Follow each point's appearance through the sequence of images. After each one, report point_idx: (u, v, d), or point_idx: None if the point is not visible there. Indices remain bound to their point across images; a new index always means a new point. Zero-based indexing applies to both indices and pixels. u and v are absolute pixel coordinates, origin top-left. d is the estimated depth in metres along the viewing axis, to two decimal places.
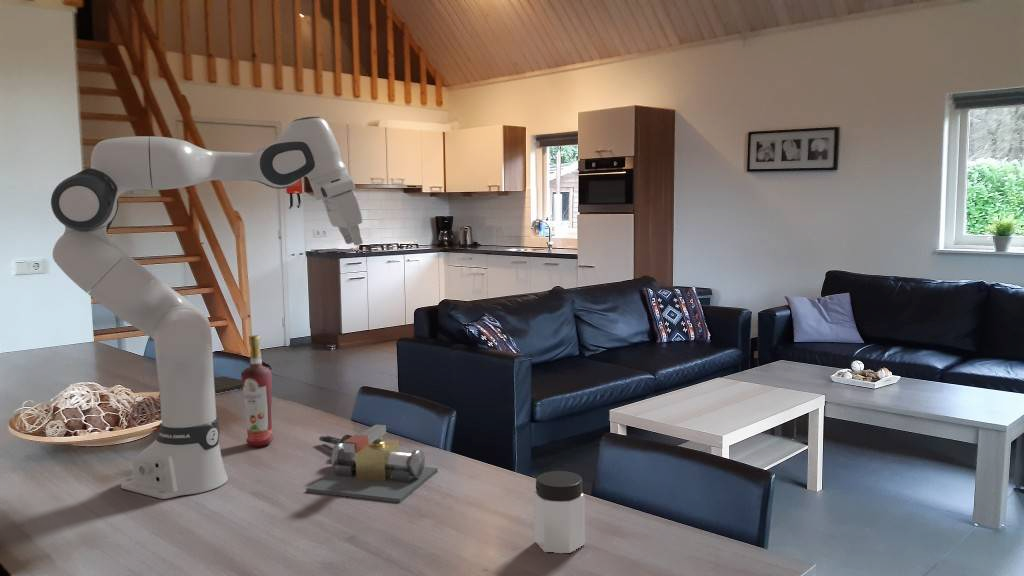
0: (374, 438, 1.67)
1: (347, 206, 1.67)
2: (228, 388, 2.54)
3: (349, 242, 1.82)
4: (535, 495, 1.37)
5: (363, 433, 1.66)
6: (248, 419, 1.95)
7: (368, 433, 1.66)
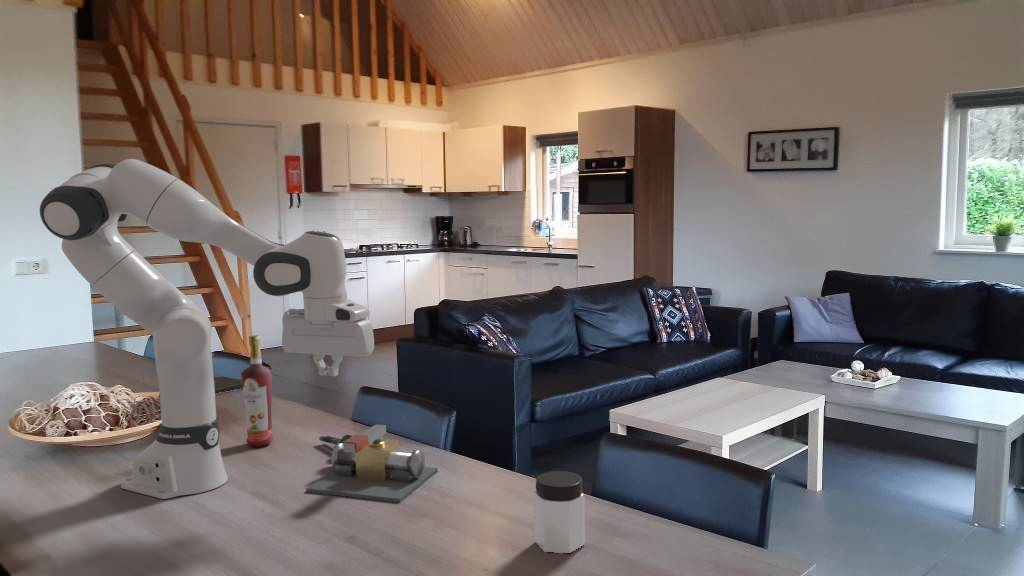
0: (374, 438, 1.67)
1: (368, 334, 1.58)
2: (228, 388, 2.54)
3: (326, 373, 1.62)
4: (535, 495, 1.37)
5: (363, 433, 1.66)
6: (248, 419, 1.95)
7: (368, 433, 1.66)
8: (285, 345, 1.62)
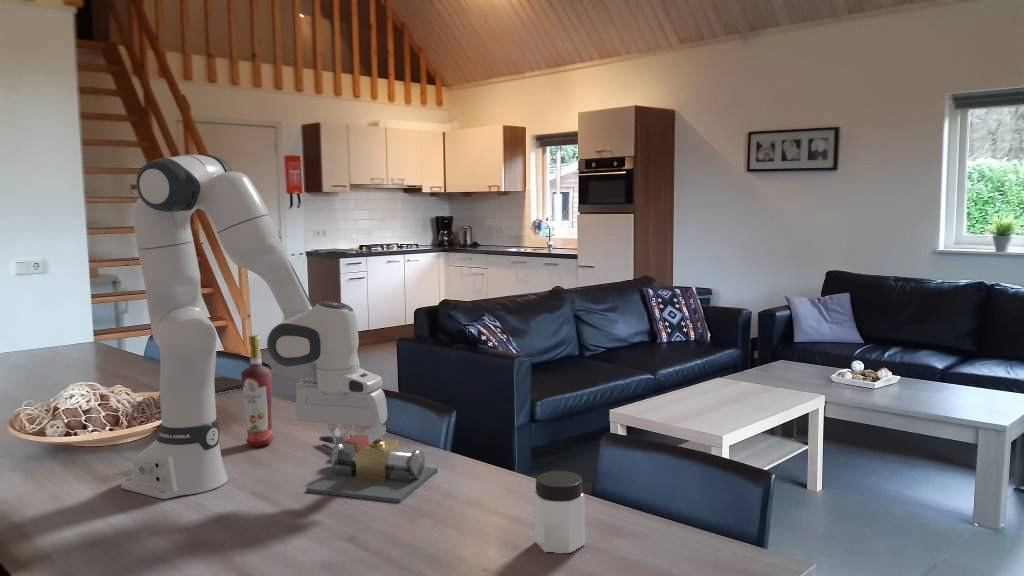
0: (374, 438, 1.67)
1: (381, 404, 1.58)
2: (228, 388, 2.54)
3: None
4: (535, 495, 1.37)
5: (363, 433, 1.66)
6: (248, 419, 1.95)
7: (368, 433, 1.66)
8: (298, 414, 1.63)
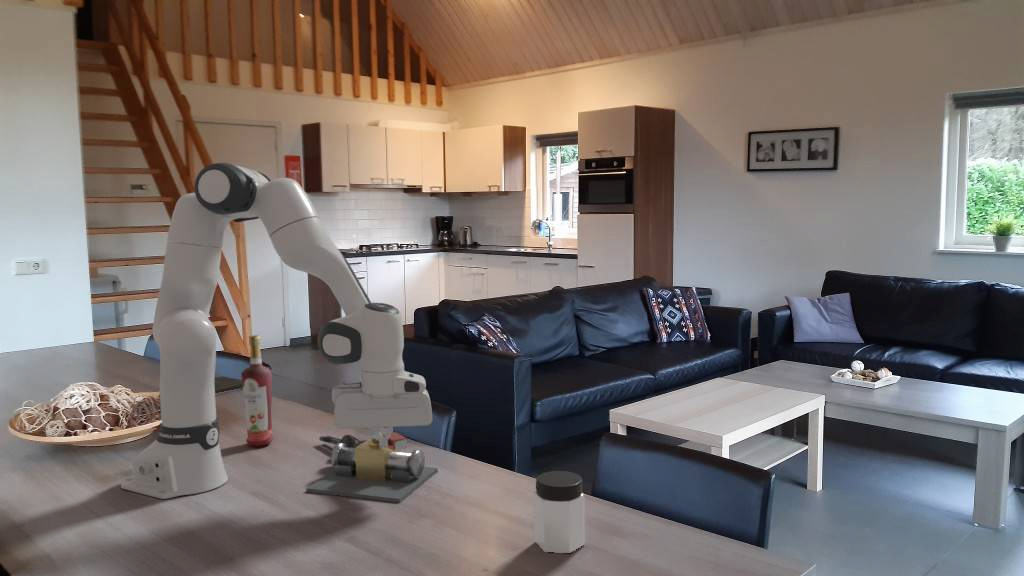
0: None
1: (430, 402, 1.62)
2: (228, 388, 2.54)
3: None
4: (535, 495, 1.37)
5: (383, 433, 1.66)
6: (248, 419, 1.95)
7: None
8: (338, 421, 1.58)
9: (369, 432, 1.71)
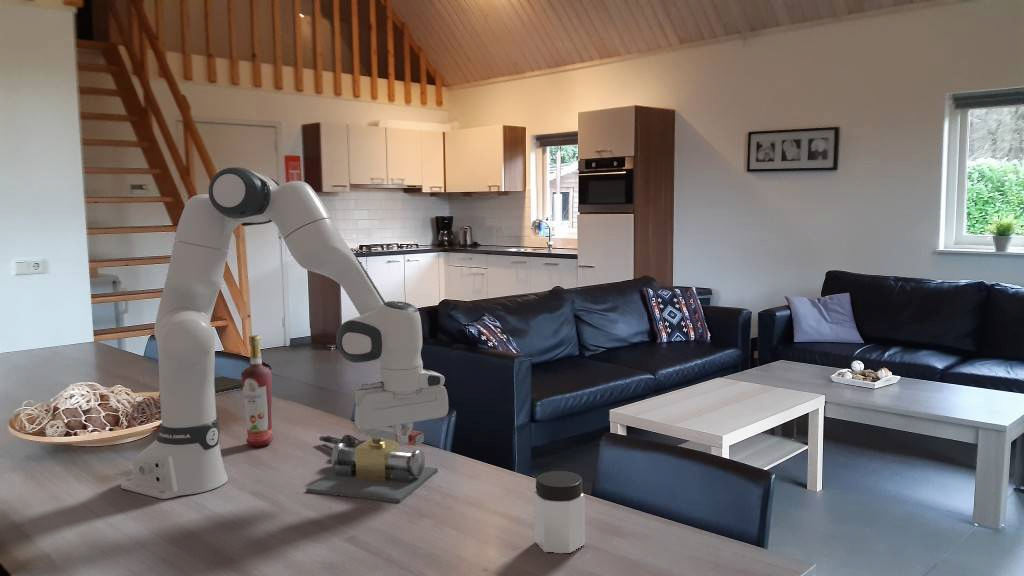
0: None
1: None
2: (228, 388, 2.54)
3: None
4: (535, 495, 1.37)
5: (391, 430, 1.68)
6: (248, 419, 1.95)
7: None
8: (365, 422, 1.57)
9: (369, 433, 1.70)
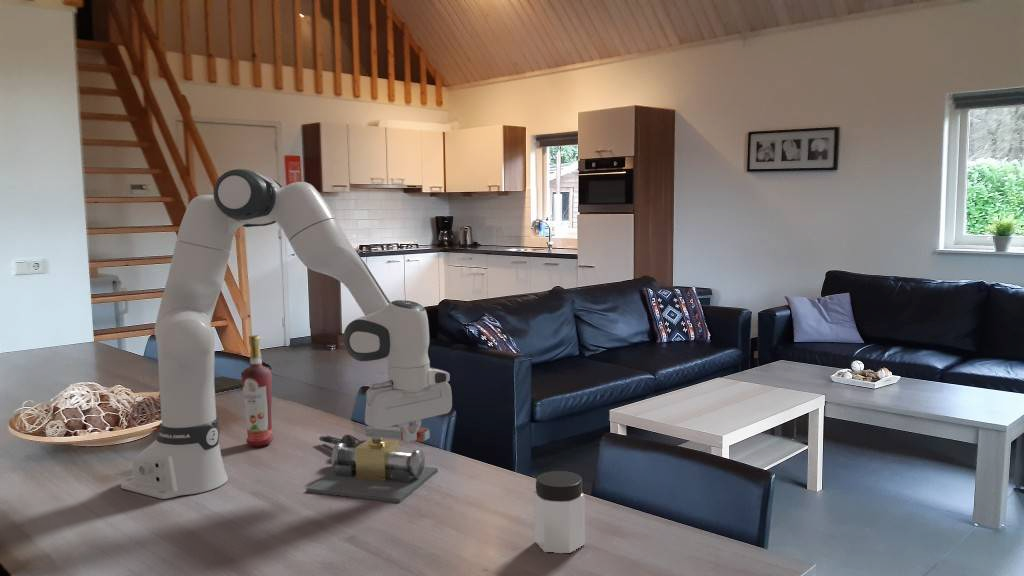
0: None
1: None
2: (228, 388, 2.54)
3: None
4: (535, 495, 1.37)
5: (395, 429, 1.69)
6: (248, 419, 1.95)
7: (396, 428, 1.70)
8: (378, 421, 1.57)
9: (369, 433, 1.70)
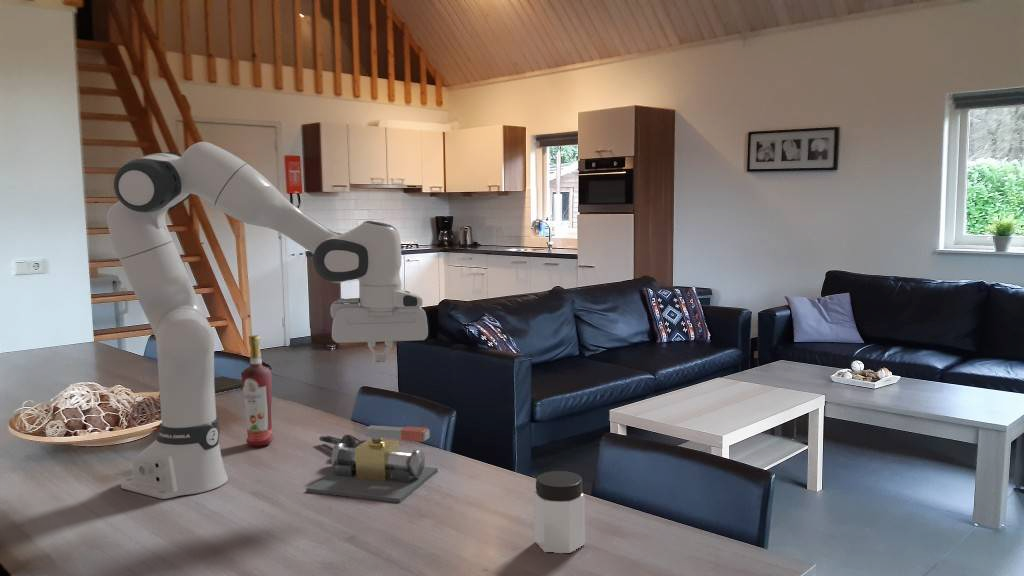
0: None
1: None
2: (228, 388, 2.54)
3: None
4: (535, 495, 1.37)
5: (395, 429, 1.69)
6: (248, 419, 1.95)
7: (396, 428, 1.70)
8: (338, 335, 1.61)
9: (369, 433, 1.70)
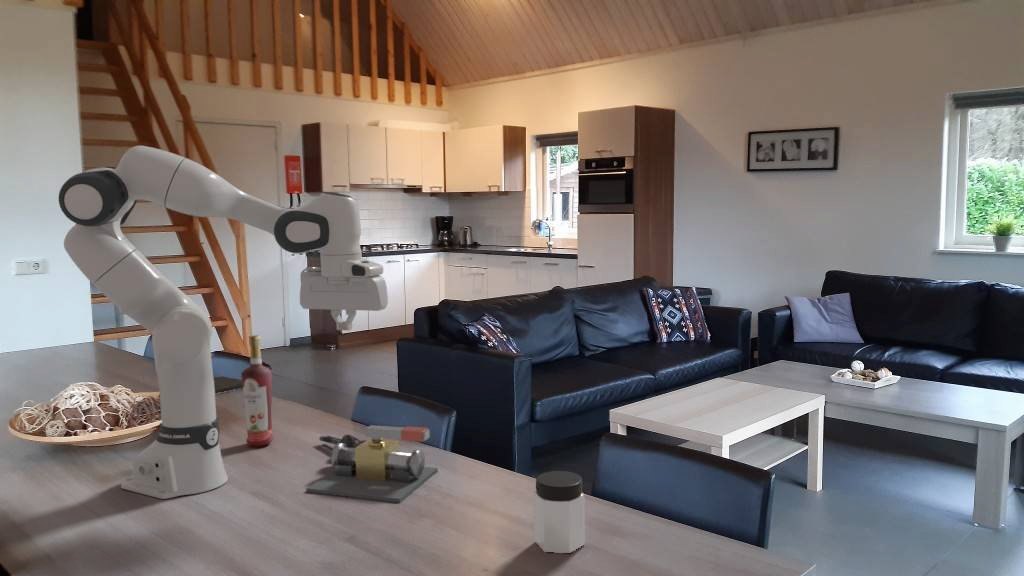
0: None
1: (382, 289, 1.66)
2: (228, 388, 2.54)
3: None
4: (535, 495, 1.37)
5: (395, 429, 1.69)
6: (248, 419, 1.95)
7: (396, 428, 1.70)
8: (303, 301, 1.71)
9: (369, 433, 1.70)
